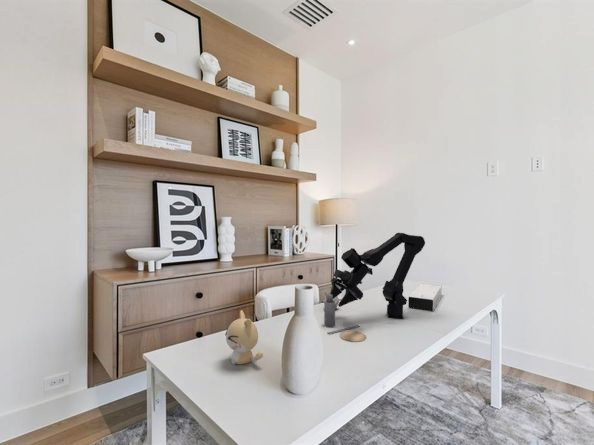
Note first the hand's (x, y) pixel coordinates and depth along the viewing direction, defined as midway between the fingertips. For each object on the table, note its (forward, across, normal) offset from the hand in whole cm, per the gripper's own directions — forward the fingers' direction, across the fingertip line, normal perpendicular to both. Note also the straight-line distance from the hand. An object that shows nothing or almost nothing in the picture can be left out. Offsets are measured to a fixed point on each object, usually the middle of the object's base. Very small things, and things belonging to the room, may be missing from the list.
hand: (333, 303), depth 133 cm
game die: (0, -20, +13) cm, 24 cm away
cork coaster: (+6, +14, +7) cm, 17 cm away
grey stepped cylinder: (+8, 0, +5) cm, 9 cm away
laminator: (-37, -14, +50) cm, 64 cm away
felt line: (+6, +6, +8) cm, 11 cm away
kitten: (+37, +18, -23) cm, 47 cm away
